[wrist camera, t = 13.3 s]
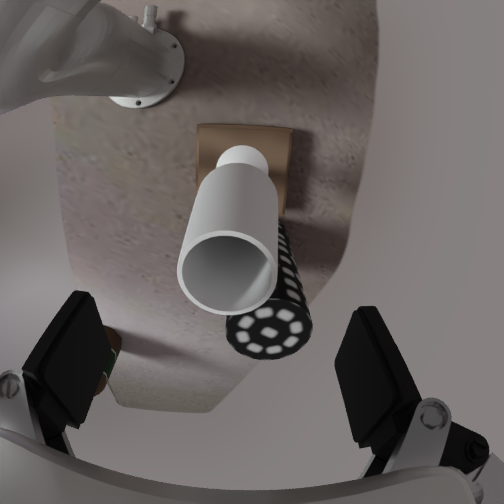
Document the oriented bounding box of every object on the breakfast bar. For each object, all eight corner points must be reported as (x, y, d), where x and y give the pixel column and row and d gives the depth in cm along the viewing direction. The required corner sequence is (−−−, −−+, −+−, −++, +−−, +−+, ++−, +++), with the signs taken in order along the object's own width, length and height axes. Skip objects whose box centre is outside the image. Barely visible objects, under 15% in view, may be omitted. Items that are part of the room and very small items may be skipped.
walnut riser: (201, 123, 34) (196, 124, 31) (288, 127, 35) (293, 129, 31) (200, 204, 40) (195, 213, 37) (281, 208, 41) (284, 218, 37)
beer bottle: (128, 338, 54) (93, 431, 33) (116, 353, 56) (84, 437, 35) (99, 318, 51) (53, 408, 30) (89, 335, 54) (49, 416, 33)
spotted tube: (224, 248, 44) (210, 341, 26) (253, 205, 40) (256, 283, 23) (268, 271, 46) (278, 368, 28) (298, 233, 42) (330, 320, 25)
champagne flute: (252, 204, 36) (254, 344, 15) (206, 181, 35) (141, 296, 13) (278, 161, 33) (327, 252, 12) (231, 135, 32) (189, 180, 11)
